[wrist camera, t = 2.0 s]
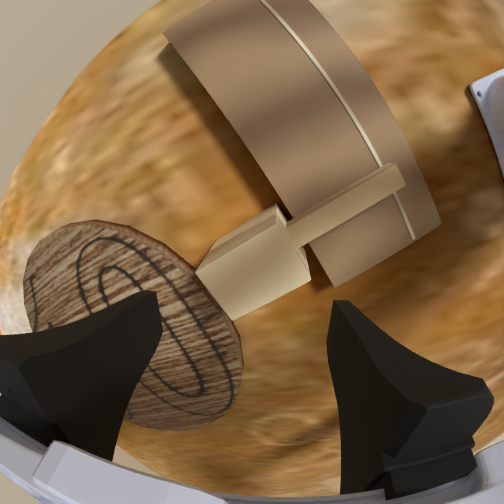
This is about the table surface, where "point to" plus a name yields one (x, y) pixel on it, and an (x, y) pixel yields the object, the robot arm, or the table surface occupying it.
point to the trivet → (171, 311)
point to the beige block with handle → (283, 245)
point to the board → (308, 121)
